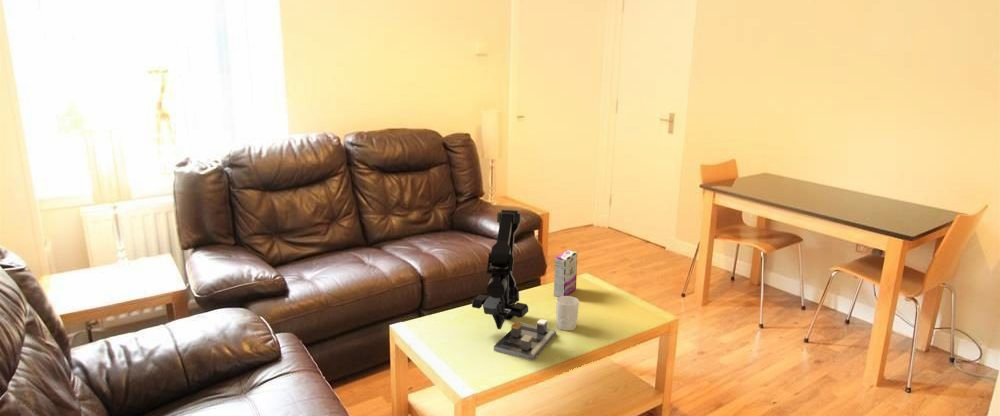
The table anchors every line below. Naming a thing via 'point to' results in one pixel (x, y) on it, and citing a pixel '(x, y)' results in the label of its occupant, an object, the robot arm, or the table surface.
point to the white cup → (567, 312)
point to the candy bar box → (565, 273)
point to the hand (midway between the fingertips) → (499, 328)
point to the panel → (513, 344)
